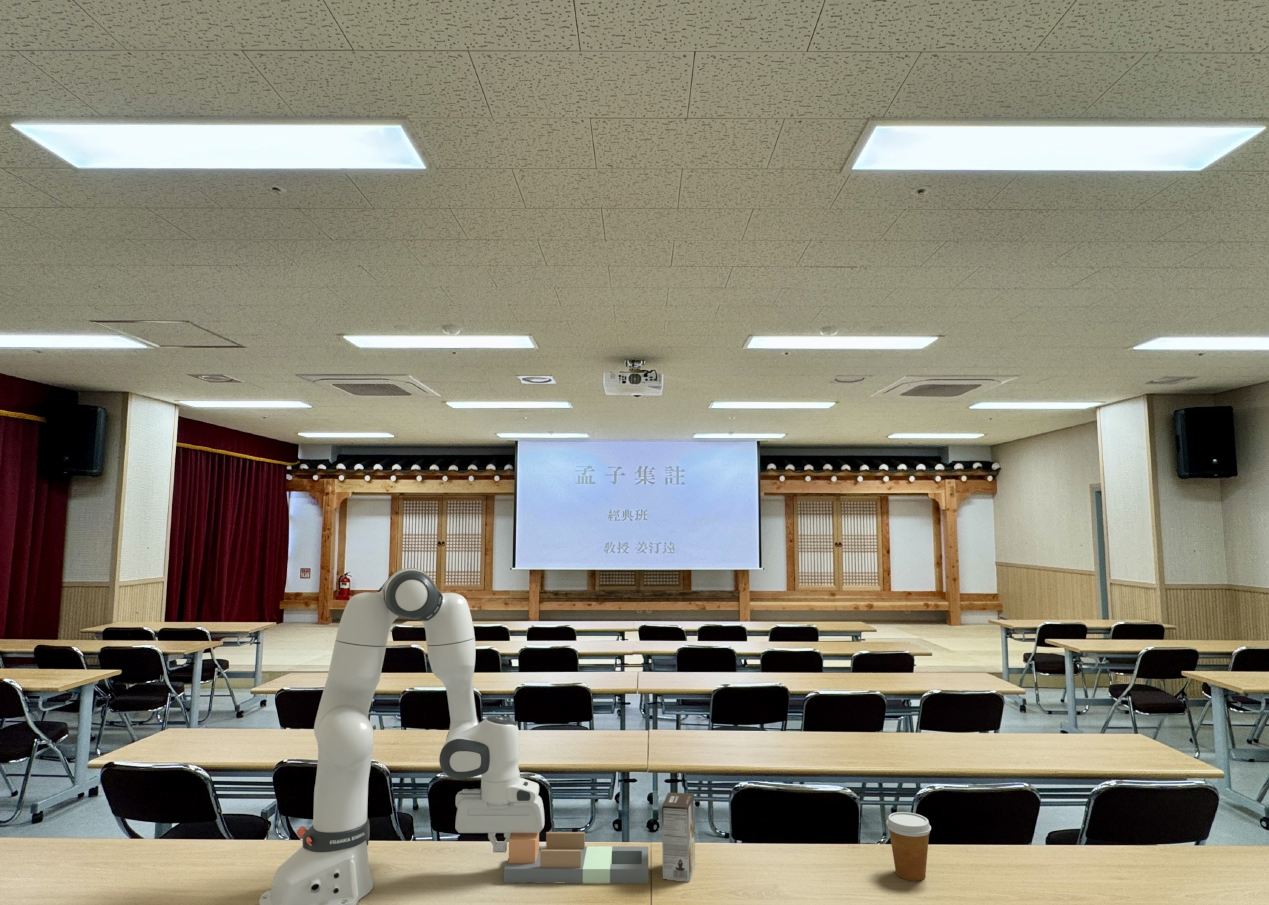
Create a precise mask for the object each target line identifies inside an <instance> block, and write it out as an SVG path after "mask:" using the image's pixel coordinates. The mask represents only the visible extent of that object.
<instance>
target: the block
mask: <svg viewBox="0 0 1269 905" xmlns="http://www.w3.org/2000/svg"><path fill="white" fill-rule="evenodd" d="M539 846H540V833H512V834H511V836H510V838H509V841H508V858H509V863H535V862H536V859H537V856H538V853H539Z"/></svg>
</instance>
